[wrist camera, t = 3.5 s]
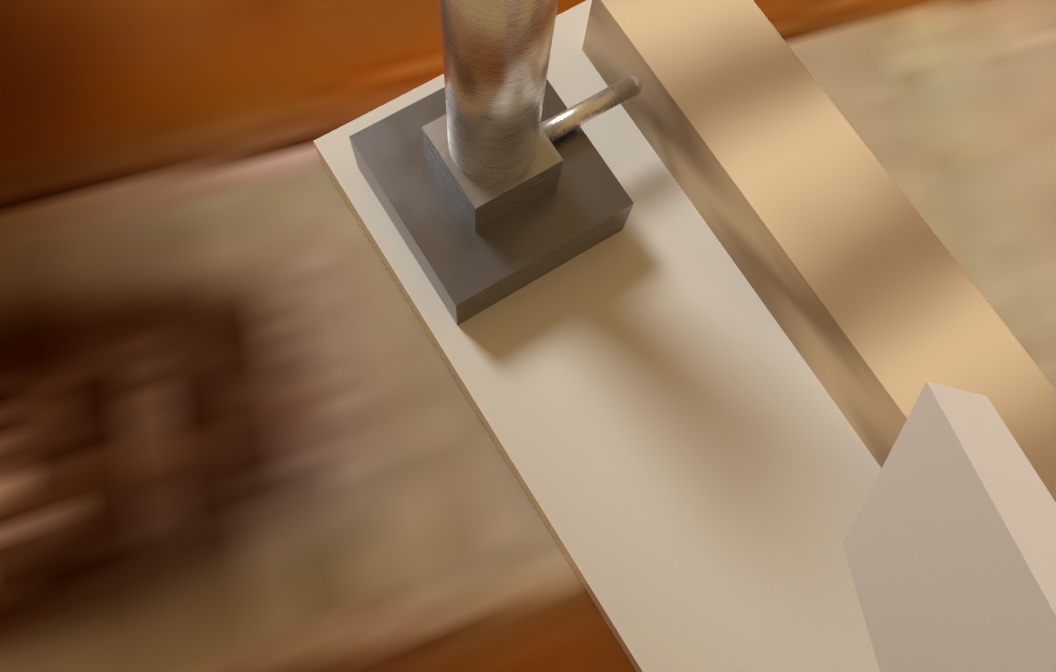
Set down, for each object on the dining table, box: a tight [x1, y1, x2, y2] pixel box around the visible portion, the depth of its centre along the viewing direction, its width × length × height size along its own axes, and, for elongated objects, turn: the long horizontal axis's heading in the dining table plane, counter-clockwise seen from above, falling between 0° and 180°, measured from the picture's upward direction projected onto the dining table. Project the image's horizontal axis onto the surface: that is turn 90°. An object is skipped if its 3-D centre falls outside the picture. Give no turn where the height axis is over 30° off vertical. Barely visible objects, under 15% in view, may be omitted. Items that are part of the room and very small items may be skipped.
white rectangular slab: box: [313, 0, 882, 672], centre depth 27 cm, size 25×14×2 cm, turn 32°
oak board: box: [582, 0, 1056, 502], centre depth 25 cm, size 22×4×3 cm, turn 32°
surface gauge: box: [349, 0, 642, 325], centre depth 21 cm, size 6×8×13 cm
